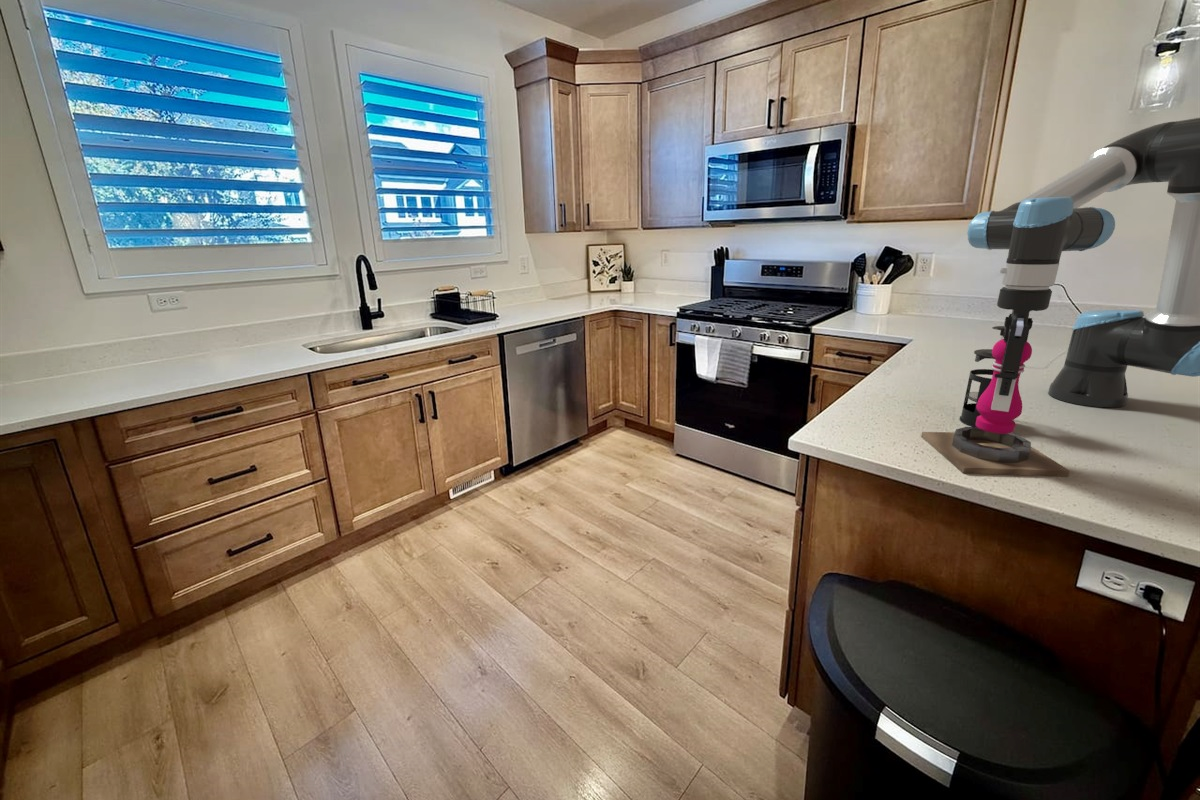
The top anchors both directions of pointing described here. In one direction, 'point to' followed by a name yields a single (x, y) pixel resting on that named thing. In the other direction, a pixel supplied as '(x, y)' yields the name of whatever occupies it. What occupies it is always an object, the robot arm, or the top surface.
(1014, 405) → the pepper mill
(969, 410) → the french press
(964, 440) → the iron collar
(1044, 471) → the collar plate
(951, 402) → the top surface
